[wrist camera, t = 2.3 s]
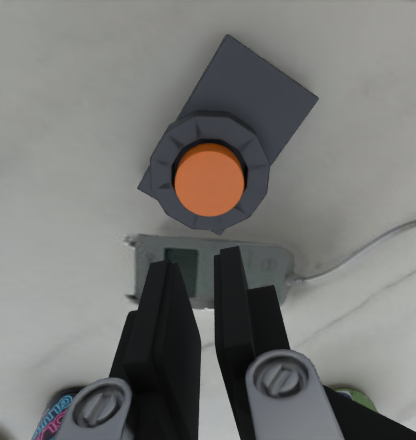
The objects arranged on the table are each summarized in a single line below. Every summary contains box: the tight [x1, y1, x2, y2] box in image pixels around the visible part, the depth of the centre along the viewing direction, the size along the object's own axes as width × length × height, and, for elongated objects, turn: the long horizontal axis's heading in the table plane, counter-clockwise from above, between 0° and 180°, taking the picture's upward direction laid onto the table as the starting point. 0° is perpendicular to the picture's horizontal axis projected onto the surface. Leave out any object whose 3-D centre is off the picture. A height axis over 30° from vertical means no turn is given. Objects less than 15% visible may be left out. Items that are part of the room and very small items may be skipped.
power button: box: [175, 143, 244, 216], centre depth 21 cm, size 4×4×2 cm
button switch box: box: [137, 34, 319, 235], centre depth 23 cm, size 10×6×4 cm, turn 148°
